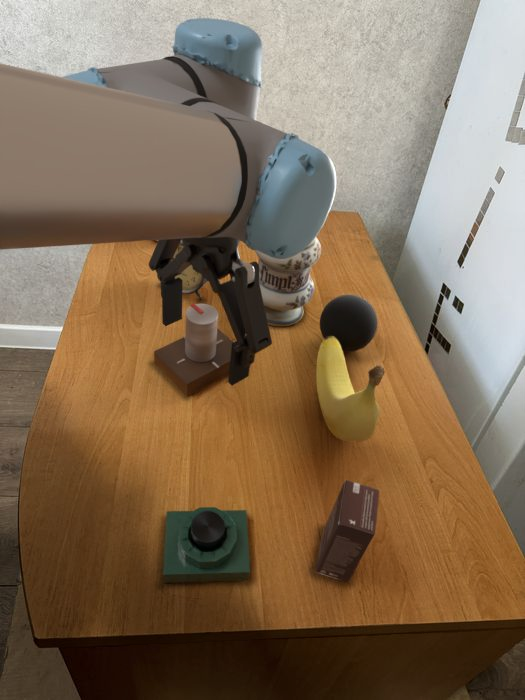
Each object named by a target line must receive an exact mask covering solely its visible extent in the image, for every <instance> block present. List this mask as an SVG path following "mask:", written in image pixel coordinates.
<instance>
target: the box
mask: <svg viewBox="0 0 525 700" xmlns="http://www.w3.org/2000/svg"><path fill="white" fill-rule="evenodd" d="M379 498H380V489H377V488H375V487H371V486H368V485H365V484H362V483H359V482H355V481H351V480H348V479H345V480H344V482H343V484H342V486H341V488H340V491H339V492H338V495H337V497H336V500H335V502H334V504H333V506H332V509H331V511H330V513H329V516H328V518H327V520H326V522H325V525H324V527H323V530H322V533H321V537H320V544H319V549H318V553H317V558H316V559H317V560H316V565H315V573H317V574H319V575H320V576H326V577H329V578H330V579H331V578H332V579H335V580H339V581H342V582H346V583H349V581H350V579H351V577H352V576H353V574H354V573H355V571H356V569H357V567H358V566H359V563H360V561H361V560H362V558H363V556H364V555H365V552H366V551H367V549H368V547H369V546H370V544H371V542H372V540H373V538H374V537H375V535H376V529H377V521H378V509H379Z"/></svg>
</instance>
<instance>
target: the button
mask: <svg viewBox="0 0 525 700" xmlns="http://www.w3.org/2000/svg"><path fill="white" fill-rule="evenodd" d="M224 535H225V522H224V520H223V518H222V517H221V516H220V515H219V514H218V513H216V512H213V511H204V512H201V513H199V514H198V515H196V516H195V517H194V519H193V520H192V523H191V540H192V543H193V544H194V545H195V546H196V547H197V548H199V549H201V550H204V551H210V550H214V549H216V548H217V547H219V546H220V545H221V543H222V542H223V540H224Z"/></svg>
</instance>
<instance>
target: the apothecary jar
mask: <svg viewBox="0 0 525 700" xmlns="http://www.w3.org/2000/svg"><path fill="white" fill-rule="evenodd" d="M254 253H255V254H256V256H257V257H258V264H259V267H260V275H259V284H260V289H261V293H262V298H263V303H264V307H265V312H266V316H267V321H268V325H270V326H273V327H289V326H293V325H295V324H297V323H299V321H301V319H302V318H303V316H304V312H305V311H304V306H305V305H307V304H308V303H309V302H310V301H311V300H312V298H313V296H314V295H315V294H314V293H315V284H314V280H313V279H312V277H311V269H312V266H314V265H315V264H317V262H318V261H319V260H320V257H321V254H322V245H321V242H320V241H319V239H318V238H317V236H316V237H315V239H314V240H313V241H312V242H311V243H310V244H309V245H308V246H307V247H306V248H305V249H304V250H303V251H301V252H300V253H298V254H297V255H295V256H293V257H290V258H286V259H276V258H273V257H270V256H268V255H266V254H264V253H262V252H259V251H257V250H254Z"/></svg>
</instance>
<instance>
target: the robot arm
mask: <svg viewBox="0 0 525 700" xmlns="http://www.w3.org/2000/svg"><path fill="white" fill-rule="evenodd" d="M172 52H173V55H169V56H165V57H163V58H160V59H154V60H148V61H141V62H133V63H128V64H127V63H126V64H122V65H114V66H107V67H100V68H97V67H96V66H92V67H89V68H87V70H83V71H80V72H76V73H72V74H68V75H63V76H58V75H54V74H50V73H46V72H41V71H38V70H37V71H36V70H32V69H27V68H23V67H20V66H19V67H18V66H15V65H10V64H7V63H6V64H5V63H1V62H0V251H1V250H14V249H15V250H17V249H18V250H19V249H31V248H33V249H34V248H35V249H36V248H49V247H51V248H52V247H65V246H67V247H68V246H80V245H81V246H83V245H98V244H114V243H131V242H146V241H147V242H148V241H156V240H158V241H157V243H156V245H155V247H154V249H155V250H154V249H153V252H152V254H151V257H150V259H149V262H148V267H149V269H150V270H151V271H152V272H156V271H157V273H158V274H157V273H156V276H157V279H158V280H159V282H160V297H161V307H162V308H161V311H162V312H161V313H162V315H161V320H162V324H163V326H164V327H167V326H170V325H172V324H174V323H176V322H179V321H181V320H183V294H182V290H183V280H182V279H181V278H176V279H175V276H178V275H180V274H182V273H181V272H183V271H184V270H185V269H186V268H188V267H189V266H190V265H192V266H193V267H192V269H193V270H195V271H196V272H198V273H200V274H202V276H203V277H204V278H205V279H206V280H208V283H209V285H210V288H211V290H212V292H213V293H214V294H217V296H218V297H219V300H220V303H221V305H222V308H223V310H224V313H225V316H226V318H227V321H228V323H229V326H230V328H231V331H232V333H233V335H234V337H235V341H233V343H232V348H231V358H230V368H229V374H228V378H227V383H228V384H229V385H230V386H232V387H234V385H236V384H239V383H240V382H241V381H244V379H246V378H248V377H249V376H250V368H251V365H252V364H254V362H255V359H256V354H258V353H259V352H261V351H264V349H267V348H268V347H270V346H272V344H273V340H272V335H271V331H270V326H269V324H268V321H267V316H266V312H265V307H264V303H263V298H262V293H261V289H260V284H259V275H260V267H259V262H257V261H255V260H254V261H251V262H249V263H248V262H246V261H244V260H242V259H241V258H240V253H239V244H240V242H242V243H243V244H244V245H245V246H246V247H247V248H248V249H250V250H252V251H255V250H257V251H259V252H262V253H264V254H266V255H268V256H270V257H273V258H276V259H286V258H290V257H293V256H295V255H297V254H298V253H300V252H301V251H303V250H304V249H305V248H306V247H307V246H308V245H309V244H310V243H311V242H312V241H313V240H314V239H315V237H316V238H317V236H318V235H319V233H320V231H322V228H323V227H324V225H325V223H326V221H327V219H328V215H329V213H330V211H331V208H332V206H333V203H334V199H335V195H336V189H337V173H336V168H335V166H334V162H333V161H332V159H331V158H330V157H329V155H328V154H327V153H326V151H323V150H321V149H320V148H318V147H316V146H314V145H313V144H310V143H308V142H307V141H305V140H302V139H301V138H300V137H299V136H298V135H297V134H295V133H292V132H291V133H287V132H285V131H282V130H279V129H278V128H275V127H273V126H270V125H267V124H265V123H263V122H261V121H258V120H257V115H258V107H259V100H260V93H261V89H262V87H263V82H262V63H263V62H262V59H263V42H262V39H261V37H260V35H259V34H258V33H257V31H255V30H254V29H252V28H251V27H250V26H247V25H245V24H241V23H239V22H235V21H232V20H231V21H230V20H227V19H219V18H207V17H205V18H204V17H198V18H190V19H186V20H184V21H183V22H180V23H179V24H178V25H177V27H176V28H175V32H174V44H173V45H172ZM181 240H182V242H183V245H184V248H183V249H182V250H181V251H180V252H179V253H178V254H177V255H176V256H175V257H176V258H174V259H173V260H172V258H173V256H174V254H175V252H176V250H177V248H178V246H179V244H180V242H181ZM171 260H172V261H171ZM227 276H229V277H230V279H229V280H227V281H225V282H222V283H221V282H220V280H222V279H225V278H226V277H227Z"/></svg>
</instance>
